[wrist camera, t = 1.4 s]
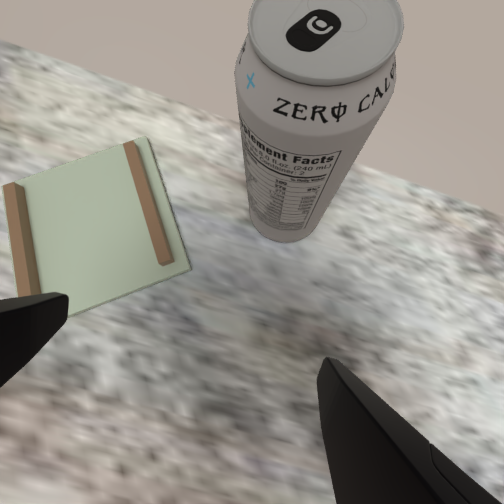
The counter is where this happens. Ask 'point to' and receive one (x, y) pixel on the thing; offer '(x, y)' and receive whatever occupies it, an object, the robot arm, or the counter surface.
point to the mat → (93, 228)
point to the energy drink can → (310, 102)
